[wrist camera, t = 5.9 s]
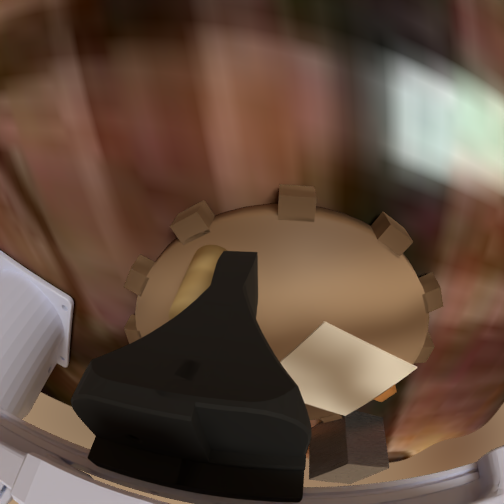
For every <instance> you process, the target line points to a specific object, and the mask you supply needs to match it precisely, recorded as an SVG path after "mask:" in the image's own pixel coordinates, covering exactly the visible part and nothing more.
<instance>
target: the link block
mask: <svg viewBox="0 0 504 504" xmlns="http://www.w3.org/2000/svg"><path fill="white" fill-rule="evenodd" d="M311 431H312V436H311V441H310V452H309V479H310V480H319V481H326V482H337V483H347V484H351V483H354V482H356V481H359V480H361V479H364V478H366V477H369V476H371V475H374V474H376V473H378V472H381V471H383V470H385V469H388V468H389V462H388V454H387V446H386V439H385V432H384V425H383V418H382V417H378V416H374V415H370V414H366V413H362V412H359V411H355V410H354V411H353V412H351V413H349V414H348V415H346V416H344V415H342V419H338V420H334V421H330V422H326V423H324V422H323V421H322V422H320V423H319V424H317V425H315V426H314V427H312V428H311Z"/></svg>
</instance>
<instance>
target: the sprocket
mask: <svg viewBox="0 0 504 504" xmlns="http://www.w3.org/2000/svg"><path fill="white" fill-rule="evenodd" d="M316 202H317V196H316V192H315V188H314V187H313V186H299V185H283V184H279V201H278V204H263V205H255V206H248V207H243V208H239V209H235V210H231V211H227V212H224V213H221V214H218V215H216V216H214V214H213V212H212V211H211V209H210V208H209V206H208V205H207V203H206V202H205V200H203V201H201V202H199V203H198V204H196V205H194V206H192V207H190V208H188V209H186V210H185V211H183V212H181V213H179V214H178V215H177V217H176V218H175V220H174V221H173V223H172V224H171V225H170V227H171V229H172V230H173V232H174V233H175V234H176V236H177V238H176V239H175V240H174V241H173V242H171V243H170V244H169V245H168V246H167V247H166V249H165V250H164V251H163V252H162V253H161V255H160V256H159V257H158V258H157V260H156V261H155V262H153V261H152V260H150V259H148V258H146V257H144V256H143V255H141V254H140V256H139V257H138V258H137V260H136V261H135V263H134V264H133V266H132V267H131V269H130V272H129V274H128V277H127V279H126V282H125V285H124V288H126V289H128V290H130V291H131V292H133V293H135V294H137V295H138V298H137V302H136V310H135V315H132V314H131V316H130V318H129V320H128V322H127V324H126V326H125V327H124V330H125V333H126V336H127V339H128V341H129V344H130V343H132V342H134V341H136V340H138V339H140V338H142V337H144V336H146V335H147V334H149V333H151V332H153V331H154V330H156V329H157V328H159V327H160V326H162V325H163V324H165V323H166V322H168V321H169V320H171V319H173V318H174V317H175V316H177V315H178V314H179V313H181V312H182V311H183V310H184V309H186V308H187V307H188V306H189V305H190V304H191V303H193V302H194V301H195V300H196V299H197V298H198V297H199V296H200V295H201V294H202V293H203V292H204V291H205V290H206V289H207V288H208V287H209V286H210V285H211V281H212V278H213V274H214V270H215V267H216V264H217V260H218V259H219V257H220V255H221V254H222V253H223V251H243V252H258V305H257V315H256V320H257V322H258V324H259V327H260V329H261V331H262V333H263V335H264V337H265V338H266V340H267V342H268V344H269V345H270V347H271V349H272V351H273V352H274V354H275V356H276V357H277V358H278V360H279V361H280V363H281V364H282V366H283V367H284V369H285V370H286V371H287V373H288V374H289V375H290V377H291V378H292V379H293V380H294V382H295V383H296V384H297V385H298V387H299V390H300V392H301V395H302V398H303V400H304V403H305V406H306V409H307V412H308V415H309V419H310V420H315V419H321V420H322V421H323V422H324V423H326V422H330V421H334V420H338V419H342V415H344V416H346V415H348V414H349V413H351V412H353V411H354V410H356V409H358V408H359V407H361V406H363V405H364V404H366V403H368V402H370V401H371V400H373V399H374V400H377V401H380V402H382V401H384V400H385V399H387V398H388V397H390V396H391V395H393V394H394V393H396V392H397V391H396V387H395V384H396V383H397V382H399V381H400V380H401V379H403V378H404V377H406V376H407V375H408V374H410V373H411V372H412V371H414V370H415V369H416V368H417V366H414V365H413V363H425V362H426V361H427V359H428V357H429V356H430V354H431V352H432V350H433V349H434V345H433V342H432V339H431V337H430V334H429V332H428V323H429V312H431V311H434V310H436V309H438V308H440V307H443V302H442V295H441V288H440V285H439V284H438V282H437V280H436V278H435V277H434V275H433V273H432V272H431V273H429V274H427V275H424V276H422V277H420V278H418V277H417V275H416V273H415V271H414V269H413V268H412V266H411V264H410V262H409V260H408V259H407V258H406V256H405V255H404V254H403V252H404V251H405V250H406V249H407V248H408V247H409V246H410V245H411V244H412V243H413V241H412V239H411V238H410V236H409V235H408V233H407V232H406V230H405V229H404V228H403V227H402V226H401V225H400V224H398V223H397V222H396V221H395V220H393V219H392V218H391V217H389V216H388V215H387V214H386V213H384V212H382V213H381V214H380V216H379V217H378V218H377V219H376V220H375V222H374V223H373V224H372V225H371V226H370V225H368V224H367V223H365V222H363V221H361V220H358V219H356V218H354V217H351V216H349V215H347V214H344V213H341V212H337V211H334V210H330V209H326V208H323V207H317V206H316Z"/></svg>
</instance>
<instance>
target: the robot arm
mask: <svg viewBox="0 0 504 504" xmlns="http://www.w3.org/2000/svg"><path fill="white" fill-rule="evenodd" d="M257 305H258V252H243V251H223V253H222V254H221V255H220V257H219V259H218V260H217V264H216V267H215V270H214V274H213V278H212V281H211V285H210V286H209V287H208V288H207V289H206V290H205V291H204V292H203V293H202V294H201V295H200V296H199V297H198V298H197V299H196V300H195V301H194V302H193V303H191V304H190V305H189V306H188V307H187V308H186V309H184V310H183V311H182V312H181V313H179V314H178V315H177V316H175V317H174V318H173V319H171V320H169V321H168V322H166V323H165V324H163V325H162V326H160V327H159V328H157V329H156V330H154V331H153V332H151V333H149V334H147V335H146V336H144V337H142V338H140V339H138V340H136V341H134V342H132V343H130V344H128V345H126V346H124V347H122V348H120V349H118V350H115V351H113V352H110V353H108V354H105V355H103V356H101V357H98V358H95V359H92V361H91V362H90V364H89V365H88V367H87V369H86V370H85V372H84V374H83V376H82V378H81V380H80V382H79V384H78V386H77V388H76V390H75V392H74V394H73V396H72V398H71V404H72V407H73V409H74V411H75V412H76V414H77V415H78V417H79V418H81V420H82V421H83V422H84V423H85V425H86V426H87V427H88V428H89V429H90V430H91V431H92V432H93V433H94V434H95V435H96V437H95V440H94V443H93V445H92V447H91V450H90V449H87V448H84V447H82V446H79V445H76V444H74V443H72V442H69V441H67V440H64V439H62V438H60V437H57V436H55V435H53V434H51V433H48V432H46V431H44V430H42V429H40V428H38V427H35V426H34V425H32V424H29V423H27V422H26V421H24V420H22V419H23V418H24V417H26V415H28V413H29V412H30V410H31V409H32V407H33V405H34V403H35V401H36V399H37V397H38V395H39V394H40V392H41V390H42V388H43V386H44V385H45V383H46V381H47V379H48V377H49V376H50V374H51V372H52V370H53V369H54V367H55V365H56V364H57V363H58V364H59V365H61V366H63V367H67V366H68V364H69V352H70V338H71V327H72V317H73V308H74V301H73V299H72V298H71V297H70V296H69V295H67V294H66V293H64V292H62V291H61V290H59V289H57V288H56V287H54V286H53V285H51V284H49V283H48V282H46V281H45V280H43V279H42V278H40V277H39V276H37V275H35V274H34V273H32V272H31V271H29V270H28V269H26V268H25V267H24V266H22V265H21V264H19V263H18V262H16V261H15V260H13V259H12V258H11V257H9V256H8V255H6V254H5V253H4V252H2V251H1V250H0V504H8V503H9V502H10V501H11V500H12V499H14V500H15V501H16V502H18V503H19V504H169V503H165V502H162V501H158V500H155V499H152V498H148V497H145V496H142V495H138V494H135V493H132V492H128V491H125V490H122V489H119V488H116V487H113V486H110V485H108V484H105V483H102V482H99V481H97V480H94V479H93V478H92V477H91V476H90V475H88V474H86V473H84V472H87V473H90V474H92V475H94V476H97V477H100V478H103V479H105V480H108V481H111V482H114V483H117V484H120V485H123V486H126V487H129V488H132V489H136V490H139V491H142V492H146V493H150V494H153V495H157V496H161V497H165V498H170V499H174V500H179V501H183V502H189V503H194V504H504V445H503V446H500V447H498V448H495V449H494V450H491V451H489V452H488V453H486V454H485V455H484V456H482V457H481V458H480V459H479V460H478V461H477V462H475V463H471V464H468V465H464V466H461V467H457V468H454V469H450V470H446V471H442V472H437V473H433V474H428V475H424V476H419V477H414V478H408V479H402V480H396V481H389V482H382V483H374V484H364V485H353V486H340V487H339V486H338V487H307V488H306V487H303V480H304V470H305V462H306V452H307V449H308V446H309V444H310V441H311V436H312V431H311V424H310V419H309V415H308V412H307V409H306V406H305V403H304V400H303V398H302V395H301V392H300V390H299V387H298V385H297V384H296V383H295V382H294V380H293V379H292V378H291V377H290V375H289V374H288V373H287V371H286V370H285V369H284V367H283V366H282V364H281V363H280V361H279V360H278V358H277V357H276V356H275V354H274V352H273V351H272V349H271V347H270V345H269V344H268V342H267V340H266V338H265V337H264V335H263V333H262V331H261V329H260V327H259V324H258V322H257V320H256V315H257ZM78 469H79V470H78ZM80 470H82V471H84V472H82V471H80Z"/></svg>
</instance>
